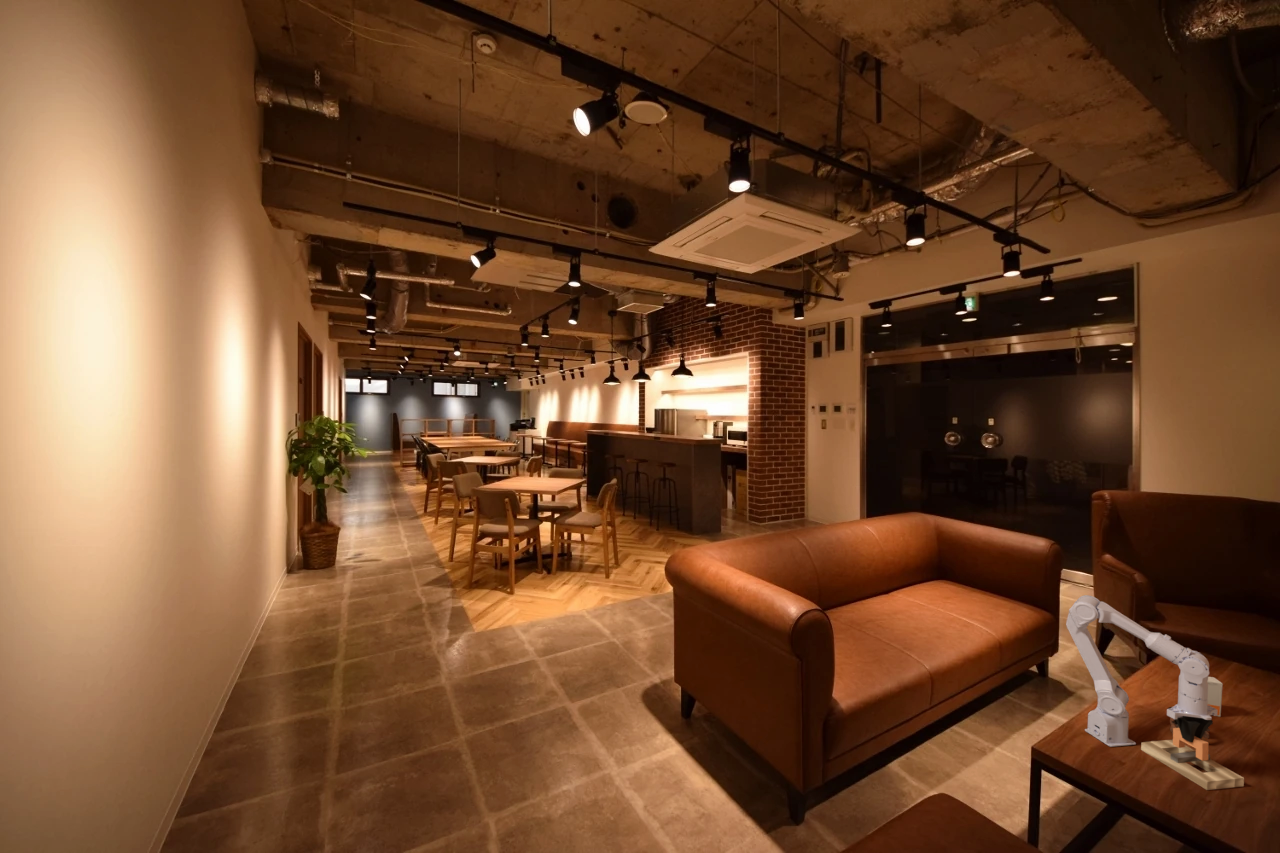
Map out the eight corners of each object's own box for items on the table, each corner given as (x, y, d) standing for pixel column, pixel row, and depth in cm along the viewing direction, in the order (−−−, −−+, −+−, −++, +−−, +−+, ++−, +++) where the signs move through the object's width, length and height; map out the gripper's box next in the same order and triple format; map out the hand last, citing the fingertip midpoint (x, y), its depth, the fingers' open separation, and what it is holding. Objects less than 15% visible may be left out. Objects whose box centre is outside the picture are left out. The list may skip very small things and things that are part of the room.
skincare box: (1197, 713, 168) (1199, 679, 168) (1189, 706, 172) (1190, 673, 172) (1221, 717, 166) (1223, 683, 166) (1212, 710, 170) (1214, 677, 170)
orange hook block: (1202, 760, 139) (1202, 743, 139) (1172, 744, 146) (1173, 728, 146) (1208, 760, 140) (1208, 742, 140) (1178, 743, 147) (1178, 727, 146)
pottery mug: (1222, 746, 153) (1217, 728, 151) (1190, 756, 154) (1185, 737, 152) (1183, 713, 164) (1178, 696, 162) (1153, 723, 166) (1148, 705, 164)
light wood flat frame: (1206, 790, 134) (1207, 776, 134) (1141, 749, 150) (1141, 737, 150) (1243, 786, 136) (1244, 772, 136) (1174, 746, 152) (1175, 734, 152)
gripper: (1188, 704, 137) (1186, 751, 138) (1231, 701, 139) (1230, 747, 140) (1159, 690, 144) (1157, 734, 145) (1200, 687, 146) (1199, 730, 147)
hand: (1191, 739), depth 143 cm, fingers closed on orange hook block, 2 cm apart
